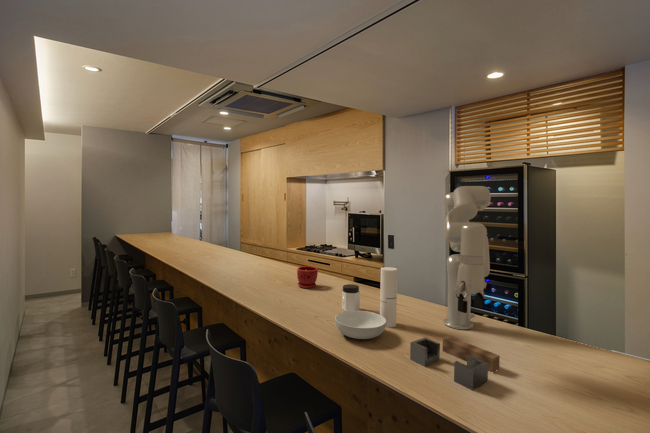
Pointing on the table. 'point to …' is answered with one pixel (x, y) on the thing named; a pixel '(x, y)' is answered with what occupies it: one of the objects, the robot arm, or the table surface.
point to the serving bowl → (360, 324)
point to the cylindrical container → (388, 295)
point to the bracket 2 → (471, 373)
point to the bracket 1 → (424, 351)
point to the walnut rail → (470, 352)
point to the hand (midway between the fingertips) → (470, 309)
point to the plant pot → (307, 276)
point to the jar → (350, 298)
